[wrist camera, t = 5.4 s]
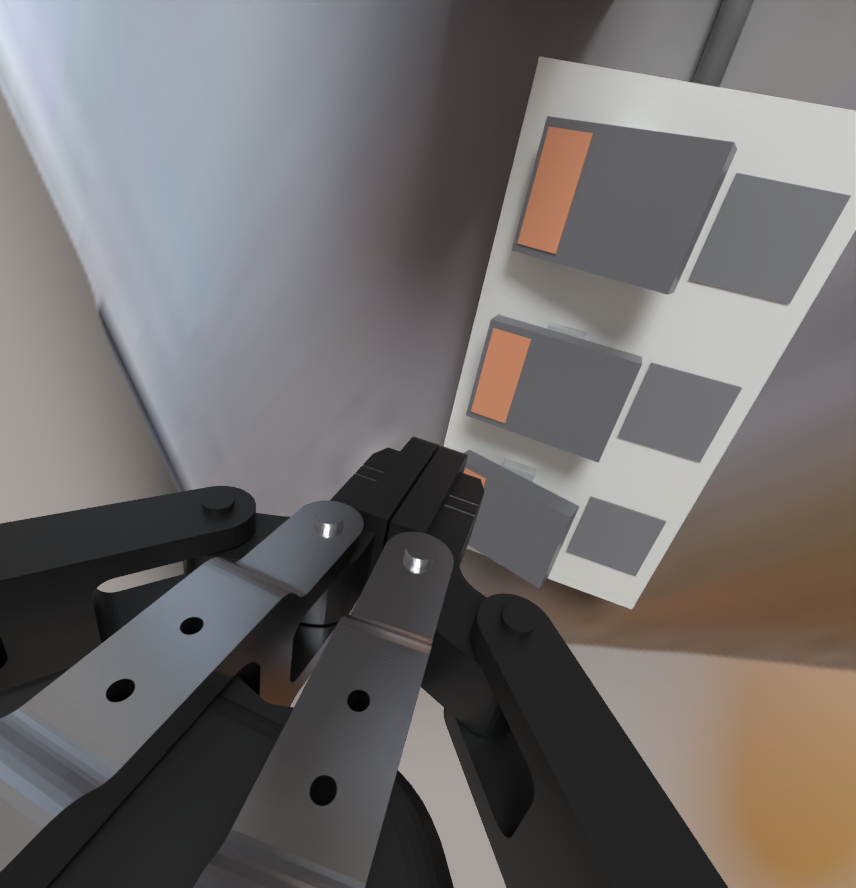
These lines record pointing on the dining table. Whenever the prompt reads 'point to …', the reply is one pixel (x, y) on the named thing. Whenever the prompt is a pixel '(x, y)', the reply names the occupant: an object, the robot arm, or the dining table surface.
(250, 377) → the dining table surface
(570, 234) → the plate
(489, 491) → the rocker
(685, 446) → the power strip
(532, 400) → the block
